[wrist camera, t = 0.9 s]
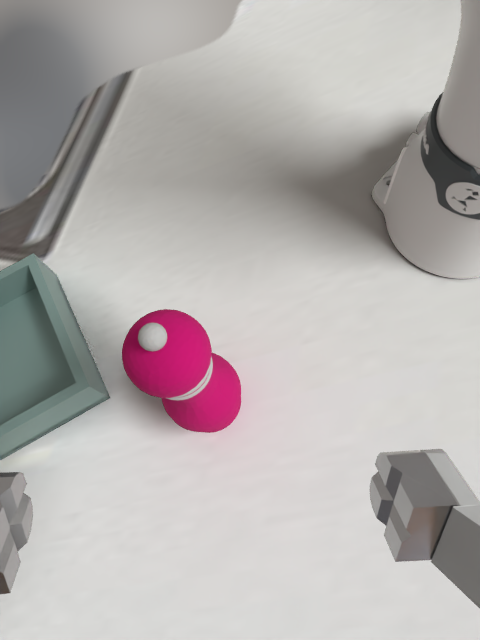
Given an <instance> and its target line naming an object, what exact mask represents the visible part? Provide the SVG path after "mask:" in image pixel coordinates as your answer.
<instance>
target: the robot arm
mask: <svg viewBox="0 0 480 640" xmlns="http://www.w3.org/2000/svg"><path fill="white" fill-rule="evenodd" d="M417 132H418V134H417V133H412V134H411V135H410V137H409V138H408V140H407V142H406V145H407V146H408V147H404V148H403V149H402V151H401V153H400V156H399V159H398V160H397V161H396V162H395V163H394V165H393V166H392V167H391V168H390V169H389V170H388V171H387V172H386V173H385V174H384V175H383V176H382V178H381V179H380V180H379V181H378V182H377V183H376V184H375V186H374V188H373V191H372V197H373V199H374V201H375V203H376V204H377V205H378V207H379V208H380V209H381V210H382V212H383V214H384V216H385V220H386V225H387V230H388V233H389V236H390V238H391V240H392V242H393V243H394V245H395V246H396V248H397V249H398V250H399V252H400V253H401V254H402V255H403V256H404V257H405V258H406V259H408V260H409V261H410V262H411V263H413V264H414V265H416V266H418V267H419V268H421V269H423V270H425V271H427V272H430V273H433V274H436V275H439V276H443V277H448V278H457V279H468V278H477V277H480V0H461V24H460V31H459V36H458V41H457V45H456V49H455V54H454V57H453V61H452V65H451V69H450V72H449V76H448V79H447V82H446V85H445V89H444V92H443V93H442V94H441V95H440V96H439V97H438V99H437V100H436V102H435V104H434V106H433V108H432V111H431V112H427V113H426V114H425V115H424V116H423V118H422V119H421V121H420V123H419V125H418V127H417ZM387 184H390V185H389V186H388V185H387ZM375 465H376V467H377V469H378V472H377V473H376V474H375V475H374V476H373V477H372V479H371V483H370V500H371V504H372V508H373V510H374V513H375V515H376V518H377V519H378V520H380V521H381V522H382V523H383V524H385V525H386V529H385V533H384V537H385V539H386V541H387V543H388V546H389V548H390V550H391V553H392V555H393V557H394V560H395V562H400V561H419V560H432V561H431V562H432V563H433V564H434V565H435V566H436V567H437V568H438V569H439V570H440V571H441V572H442V573H443V574H444V575H445V576H446V577H447V578H448V579H449V580H451V581H452V582H453V583H454V584H455V585H456V586H457V587H458V588H459V589H460V590H461V591H462V592H463V593H464V594H465V595H466V596H467V597H468V598H469V599H470V600H471V601H472V602H474V603H475V604H476V605H477V606H478V607H479V608H480V501H479V500H478V498H477V497H476V496H475V494H474V493H473V491H472V490H471V488H470V487H469V485H468V484H467V482H466V481H465V480H464V478H463V477H462V475H461V474H460V472H459V471H458V469H457V468H456V467H455V465H454V464H453V462H452V461H451V459H450V458H449V456H448V455H447V453H446V452H445V451H443V450H442V449H432V450H420V451H419V450H414V451H398V452H383V453H380V454H379V455H378V456H377V459H376V463H375ZM26 484H27V483H26V480H25V477H24V474H23V473H20V472H11V473H0V594H7V593H10V592H11V589H12V586H13V583H14V580H15V577H16V574H17V571H18V569H19V566H20V563H21V561H20V558H19V555H18V551H19V550H20V549H21V548H22V547H23V546H24V545H25V544H26V543H27V541H28V538H29V535H30V532H31V527H32V519H33V507H32V502H31V498H30V497H29V496H27V495H26V494H25V493H23V492H24V489H25V487H26Z"/></svg>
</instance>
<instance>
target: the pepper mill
mask: <svg viewBox="0 0 480 640" xmlns="http://www.w3.org/2000/svg"><path fill="white" fill-rule="evenodd" d="M211 352H212V350H211V345H210V340H209V337H208V335H207V333H206V331H205V330H204V328H203V327H202V326H201V324H200V323H199V322H198V321H197V320H195V319H194V318H193V317H191V316H189V315H188V314H186V313H183V312H180V311H177V310H168V309H165V310H158V311H155V312H151V313H149V314H147V315H145V316H144V317H142V318H140V319H139V320H138V321H137V322H136V323H135V324H134V325H133V326H132V328H131V329H130V330H129V332H128V334H127V336H126V338H125V341H124V344H123V349H122V360H123V365H124V369H125V371H126V373H127V375H128V377H129V378H130V379H131V381H132V382H133V384H135V385H136V386H137V387H138V388H139V389H140V390H141V391H143V392H145V393H147V394H149V395H151V396H156V397H160V398H162V402H163V405H164V408H165V410H166V412H167V413H168V415H169V416H170V417H171V418H172V419H173V420H174V421H175V423H177V424H178V425H179V426H181V427H183V428H185V429H187V430H190V431H196V432H209V433H210V432H216V431H219V430H222V429H224V428H226V427H227V426H229V425H230V424H231V423H232V422H233V420H234V419H235V418H236V416H237V414H238V412H239V409H240V405H241V385H240V380H239V377H238V375H237V373H236V371H235V370H234V368H233V367H232V366H231V365H230V364H229V363H228V362H227V361H226V360H225V359H223V358H222V357H221V356H219V355H216V354H214V353H211Z"/></svg>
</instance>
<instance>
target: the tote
mask: <svg viewBox="0 0 480 640" xmlns="http://www.w3.org/2000/svg"><path fill="white" fill-rule="evenodd" d="M109 398H110V396H109V394H108V391H107V389H106V387H105V385H104V382H103V380H102V378H101V375H100V373H99V371H98V369H97V366H96V364H95V362H94V359H93V357H92V355H91V353H90V350H89V348H88V346H87V343H86V341H85V339H84V336H83V334H82V332H81V330H80V327H79V325H78V323H77V320H76V318H75V316H74V314H73V311H72V309H71V307H70V304H69V302H68V300H67V297H66V295H65V293H64V291H63V288H62V286H61V284H60V281H59V279H58V277H57V275H56V274H55V273H54V272H53V271H52V270H51V269H50V268H49V267H48V266H46V265H45V264H44V263H43V262H42V261H41V260H40V259H39V258H38V257H37V256H36V255H35V254H32V255H30V256H28V257H26V258H24V259H22V260H20V261H18V262H17V263H15V264H13V265H11V266H9V267H7V268H5V269H3V270H2V271H0V460H2V459H3V458H5V457H7V456H9V455H10V454H12V453H14V452H16V451H17V450H19V449H21V448H23V447H24V446H26V445H28V444H30V443H31V442H33V441H35V440H37V439H38V438H40V437H42V436H44V435H46V434H47V433H49V432H51V431H53V430H54V429H56V428H58V427H60V426H61V425H63V424H65V423H67V422H68V421H70V420H72V419H74V418H75V417H77V416H79V415H81V414H82V413H84V412H86V411H88V410H90V409H91V408H93V407H95V406H97V405H98V404H100V403H102V402H104V401H105V400H107V399H109Z"/></svg>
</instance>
